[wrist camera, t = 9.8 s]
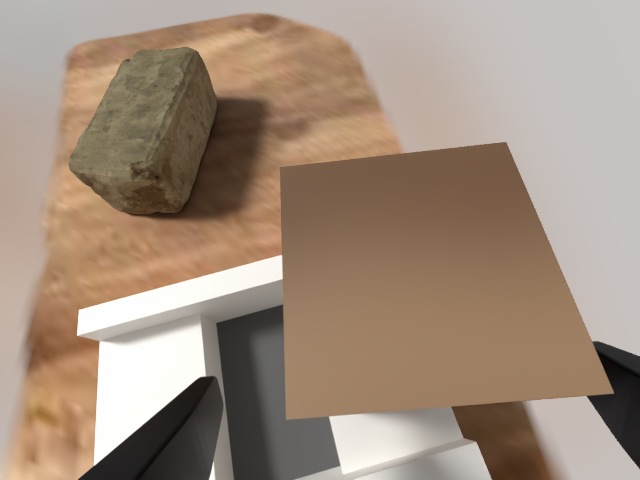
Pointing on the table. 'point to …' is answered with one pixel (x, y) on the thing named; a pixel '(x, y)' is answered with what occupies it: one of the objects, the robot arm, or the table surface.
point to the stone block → (149, 132)
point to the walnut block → (424, 288)
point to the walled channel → (252, 387)
